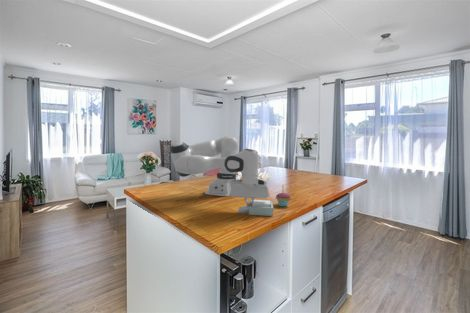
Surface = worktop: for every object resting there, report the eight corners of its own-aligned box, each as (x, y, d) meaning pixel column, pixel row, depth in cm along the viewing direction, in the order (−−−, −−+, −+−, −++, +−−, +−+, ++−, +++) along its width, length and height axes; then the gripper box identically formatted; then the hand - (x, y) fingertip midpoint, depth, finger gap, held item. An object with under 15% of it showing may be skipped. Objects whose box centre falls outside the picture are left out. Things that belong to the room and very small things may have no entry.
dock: (237, 215, 121) (237, 206, 120) (239, 208, 134) (239, 199, 133) (272, 217, 119) (273, 208, 118) (272, 210, 131) (272, 201, 131)
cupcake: (274, 203, 142) (274, 183, 141) (287, 203, 143) (288, 183, 142) (277, 207, 133) (278, 186, 132) (292, 207, 134) (293, 186, 133)
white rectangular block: (252, 211, 122) (252, 203, 122) (253, 207, 129) (253, 199, 129) (270, 212, 121) (270, 204, 121) (270, 208, 128) (270, 200, 128)
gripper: (229, 180, 123) (228, 206, 124) (269, 181, 121) (268, 208, 122) (231, 178, 129) (230, 203, 130) (269, 179, 127) (268, 205, 128)
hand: (249, 205), depth 126 cm, fingers closed
